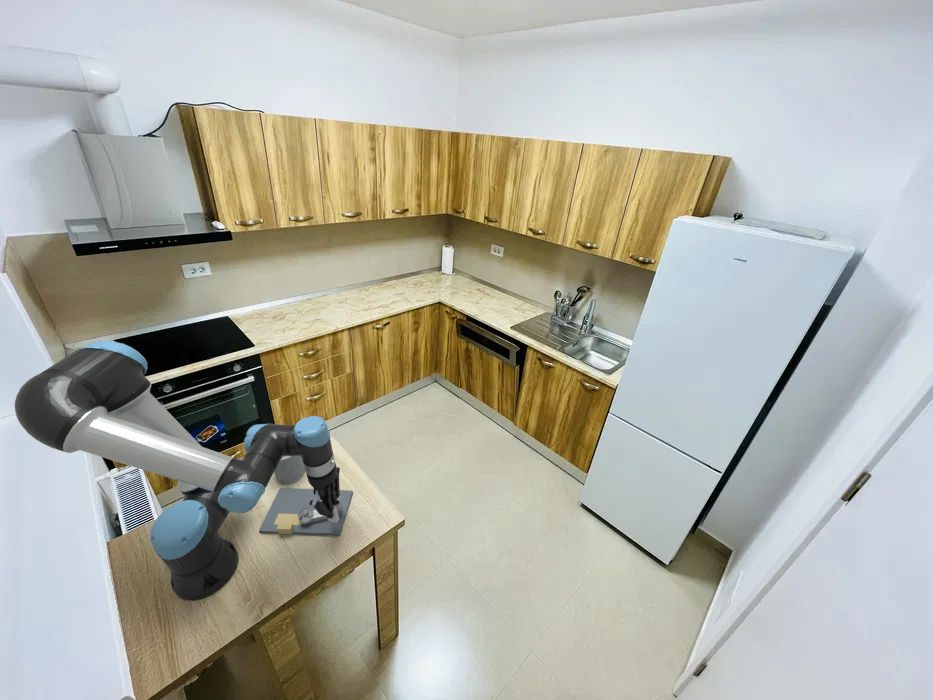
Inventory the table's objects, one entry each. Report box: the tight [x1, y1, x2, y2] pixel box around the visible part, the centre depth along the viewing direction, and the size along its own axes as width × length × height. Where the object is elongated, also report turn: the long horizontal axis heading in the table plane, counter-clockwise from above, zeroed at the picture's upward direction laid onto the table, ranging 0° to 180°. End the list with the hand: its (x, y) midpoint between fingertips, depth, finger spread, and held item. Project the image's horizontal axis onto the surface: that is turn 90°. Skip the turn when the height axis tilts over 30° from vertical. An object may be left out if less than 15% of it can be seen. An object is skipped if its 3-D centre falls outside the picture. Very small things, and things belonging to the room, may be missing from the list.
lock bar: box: [298, 492, 343, 526], centre depth 112 cm, size 13×4×10 cm, turn 106°
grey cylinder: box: [273, 456, 306, 486], centre depth 126 cm, size 10×10×12 cm
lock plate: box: [258, 487, 354, 537], centre depth 116 cm, size 24×16×5 cm, turn 90°
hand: (334, 520), depth 110 cm, fingers closed
